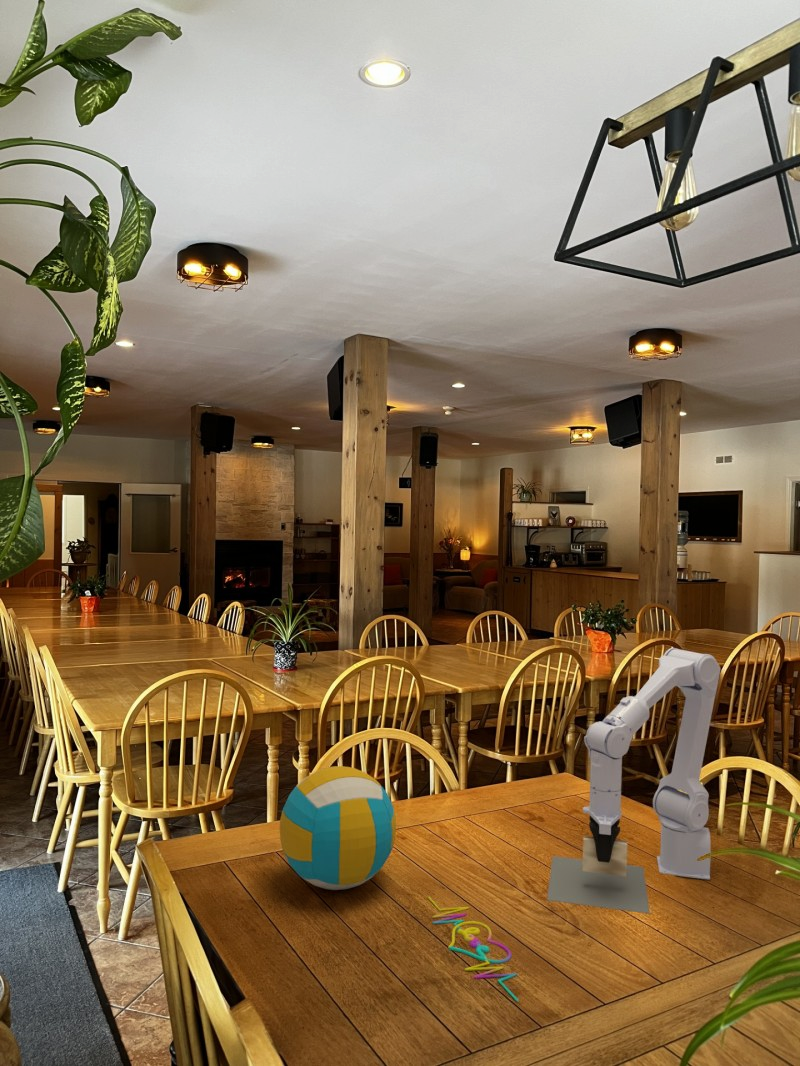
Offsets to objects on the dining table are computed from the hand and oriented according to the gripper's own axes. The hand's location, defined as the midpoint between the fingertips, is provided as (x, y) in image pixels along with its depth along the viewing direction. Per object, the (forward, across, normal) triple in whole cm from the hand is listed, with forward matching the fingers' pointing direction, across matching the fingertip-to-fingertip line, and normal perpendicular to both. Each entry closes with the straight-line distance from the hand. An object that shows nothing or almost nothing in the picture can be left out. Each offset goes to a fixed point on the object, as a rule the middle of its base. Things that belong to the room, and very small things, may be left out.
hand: (603, 858), depth 152 cm
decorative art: (+7, +26, -21) cm, 34 cm away
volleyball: (+6, +12, -49) cm, 51 cm away
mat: (+6, -2, -1) cm, 6 cm away
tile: (+2, 0, 0) cm, 3 cm away
